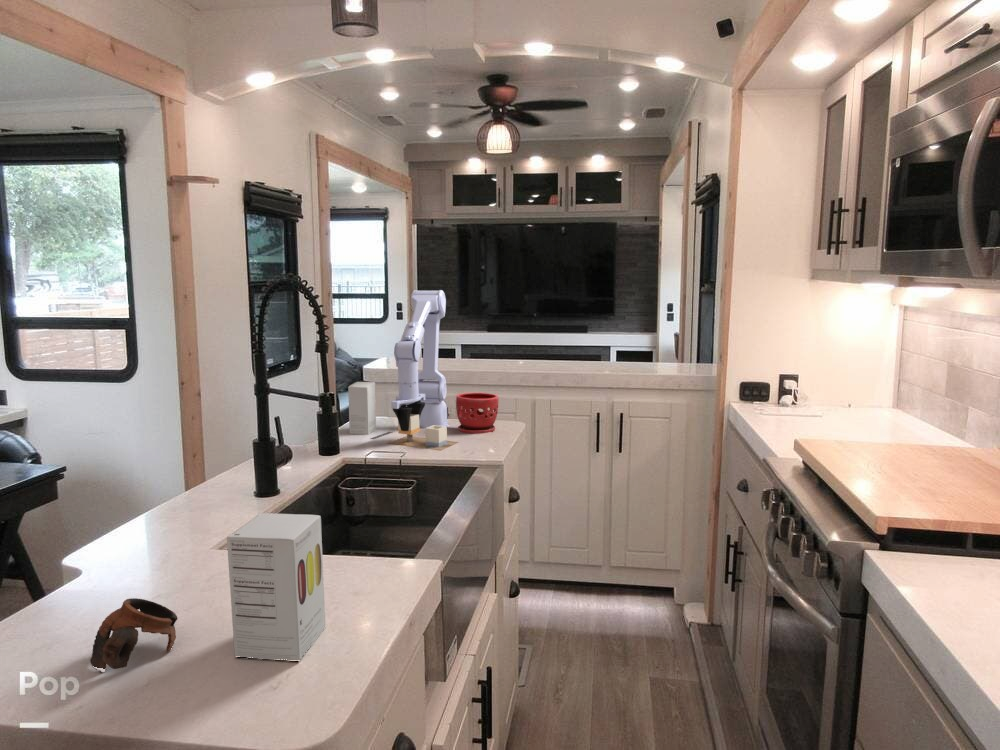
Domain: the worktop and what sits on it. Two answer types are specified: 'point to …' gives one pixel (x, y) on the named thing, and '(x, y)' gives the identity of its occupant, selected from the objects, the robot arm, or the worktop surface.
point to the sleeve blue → (436, 435)
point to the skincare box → (362, 408)
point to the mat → (381, 435)
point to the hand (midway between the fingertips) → (409, 428)
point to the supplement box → (276, 585)
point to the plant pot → (476, 412)
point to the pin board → (419, 443)
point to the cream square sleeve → (411, 425)
